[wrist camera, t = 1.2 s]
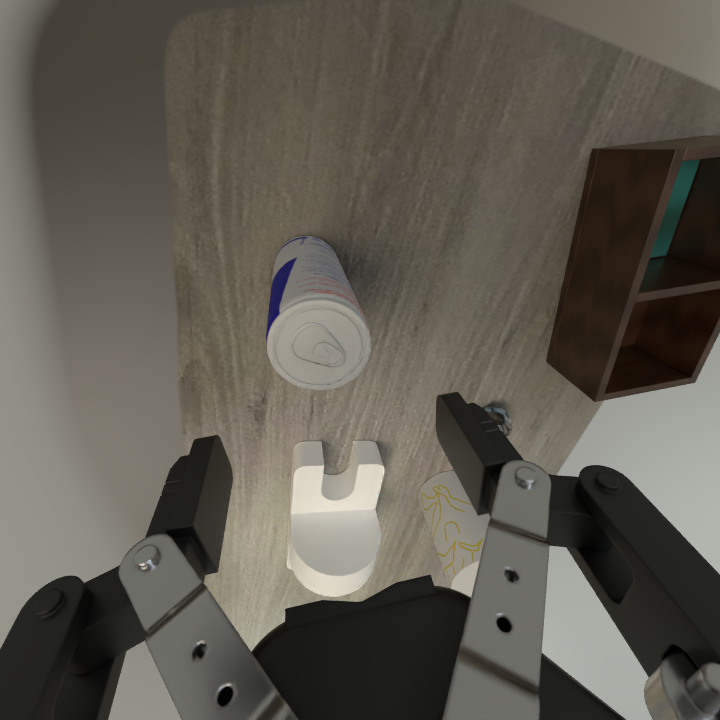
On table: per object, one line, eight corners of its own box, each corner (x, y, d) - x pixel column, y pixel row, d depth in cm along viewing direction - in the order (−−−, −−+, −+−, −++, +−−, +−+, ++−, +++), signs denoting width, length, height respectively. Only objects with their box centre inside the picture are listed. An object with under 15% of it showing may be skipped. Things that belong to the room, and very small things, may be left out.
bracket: (357, 538, 52) (372, 626, 43) (286, 543, 50) (286, 638, 41) (379, 440, 43) (405, 524, 34) (293, 441, 41) (296, 531, 31)
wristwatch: (477, 417, 46) (517, 423, 43) (461, 447, 43) (501, 456, 40) (470, 400, 45) (510, 404, 41) (452, 429, 42) (493, 436, 39)
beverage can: (271, 233, 29) (260, 298, 17) (339, 235, 30) (377, 298, 18) (275, 298, 32) (268, 396, 20) (337, 298, 33) (368, 391, 21)
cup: (443, 463, 47) (486, 549, 37) (484, 480, 51) (533, 563, 41) (406, 501, 50) (436, 591, 40) (447, 515, 54) (484, 602, 43)
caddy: (591, 148, 30) (676, 149, 24) (707, 135, 32) (818, 132, 25) (545, 361, 42) (594, 402, 35) (632, 346, 43) (695, 382, 36)
